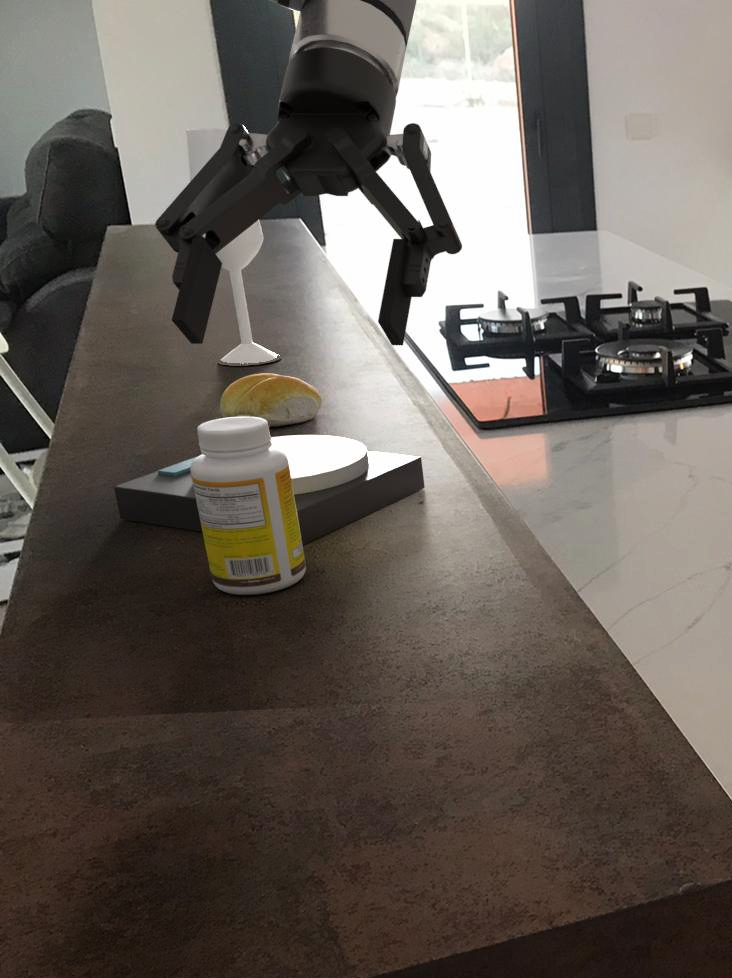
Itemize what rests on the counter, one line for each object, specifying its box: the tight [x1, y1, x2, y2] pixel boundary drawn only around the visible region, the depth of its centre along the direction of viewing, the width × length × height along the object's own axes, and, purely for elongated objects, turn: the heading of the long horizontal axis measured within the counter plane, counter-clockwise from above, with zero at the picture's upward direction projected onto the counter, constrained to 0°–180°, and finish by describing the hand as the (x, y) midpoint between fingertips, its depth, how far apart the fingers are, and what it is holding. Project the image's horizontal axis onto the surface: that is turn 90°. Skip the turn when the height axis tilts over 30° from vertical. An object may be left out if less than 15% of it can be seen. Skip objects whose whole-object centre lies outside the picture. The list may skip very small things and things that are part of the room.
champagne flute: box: [186, 127, 279, 364], centre depth 137 cm, size 7×7×24 cm
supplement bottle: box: [190, 416, 307, 596], centre depth 79 cm, size 6×6×10 cm
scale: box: [113, 434, 426, 546], centre depth 95 cm, size 16×14×4 cm
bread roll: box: [219, 372, 323, 428], centre depth 118 cm, size 8×9×4 cm
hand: (288, 333), depth 84 cm, fingers open, 13 cm apart
